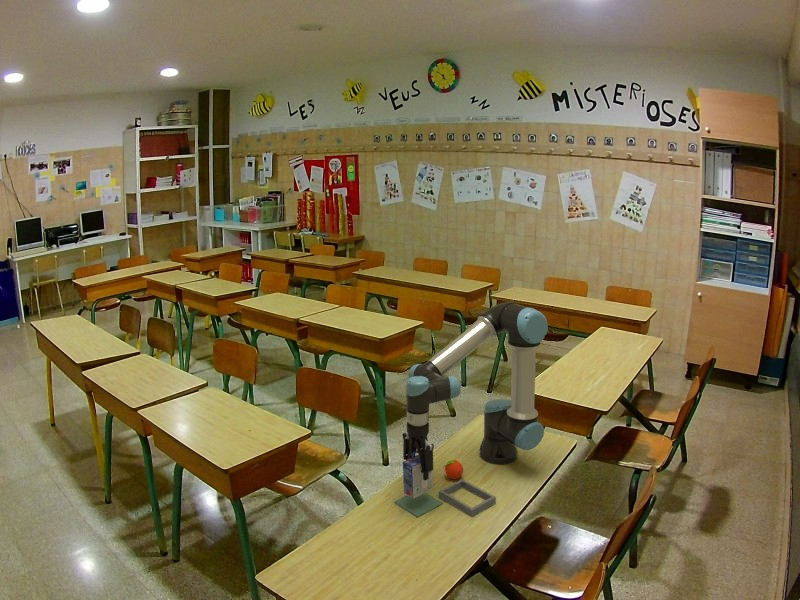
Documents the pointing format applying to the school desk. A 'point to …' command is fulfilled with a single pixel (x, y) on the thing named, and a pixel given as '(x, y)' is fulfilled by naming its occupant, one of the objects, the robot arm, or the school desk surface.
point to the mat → (418, 504)
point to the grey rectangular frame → (460, 505)
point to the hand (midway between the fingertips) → (418, 483)
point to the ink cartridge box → (414, 477)
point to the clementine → (453, 469)
